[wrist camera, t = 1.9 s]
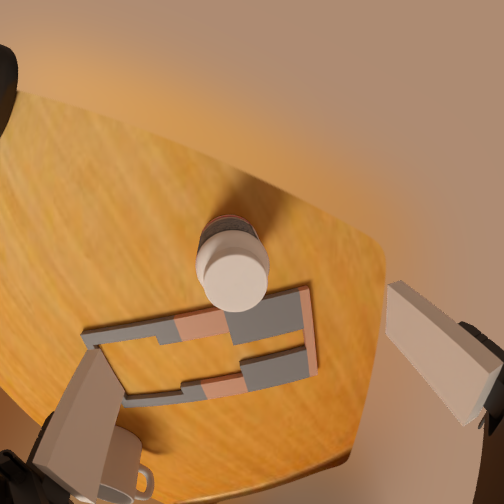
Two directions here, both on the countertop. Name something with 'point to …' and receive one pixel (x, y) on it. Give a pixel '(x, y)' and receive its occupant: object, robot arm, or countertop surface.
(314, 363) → the keyhole board
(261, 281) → the pill bottle
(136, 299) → the countertop surface
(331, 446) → the countertop surface
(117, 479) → the mug
